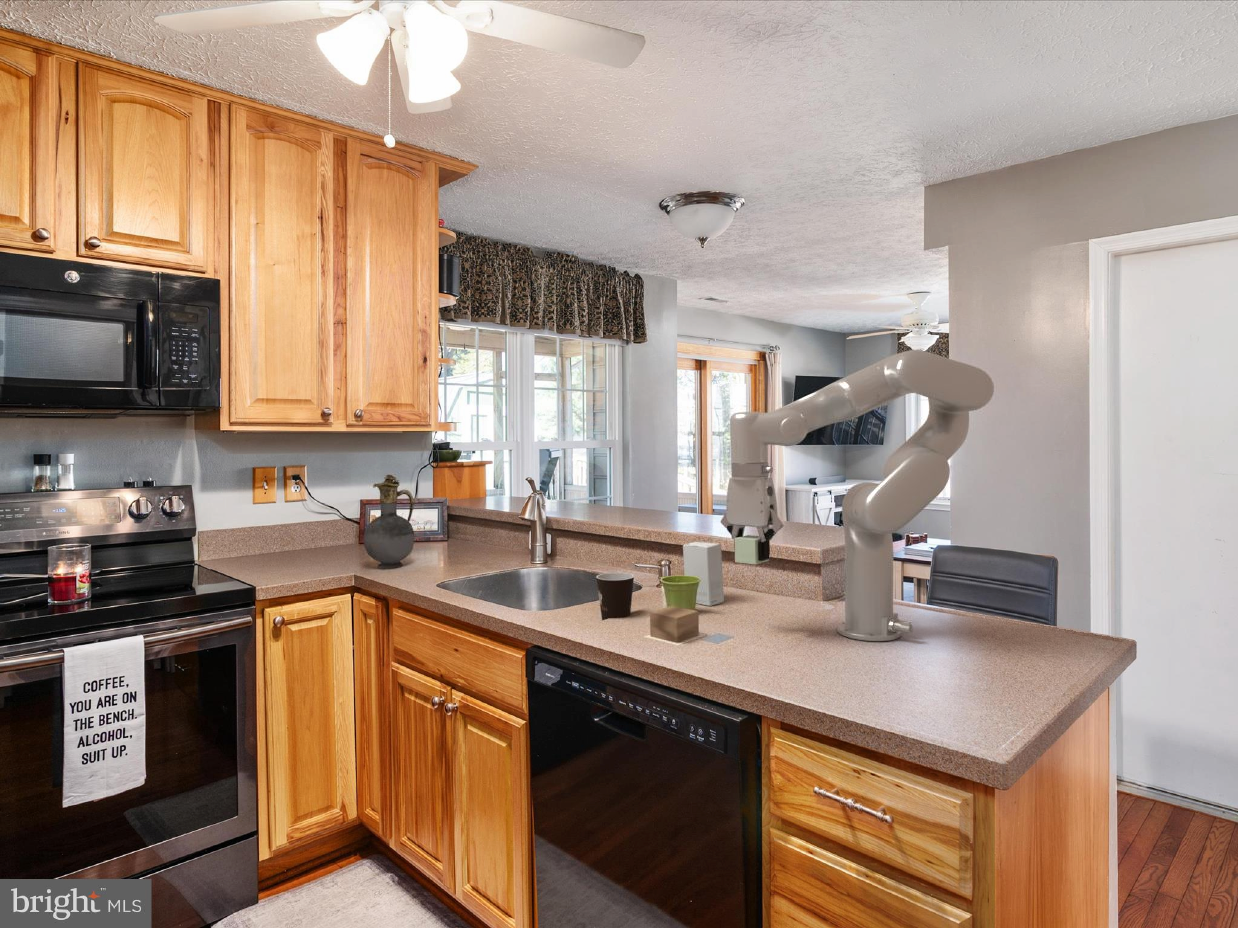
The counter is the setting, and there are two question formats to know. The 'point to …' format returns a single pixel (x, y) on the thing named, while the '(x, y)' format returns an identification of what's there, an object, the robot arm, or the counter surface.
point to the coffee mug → (615, 594)
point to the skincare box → (705, 570)
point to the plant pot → (681, 590)
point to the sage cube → (747, 549)
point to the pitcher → (390, 528)
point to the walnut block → (674, 624)
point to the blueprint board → (714, 638)
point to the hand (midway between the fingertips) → (752, 557)
